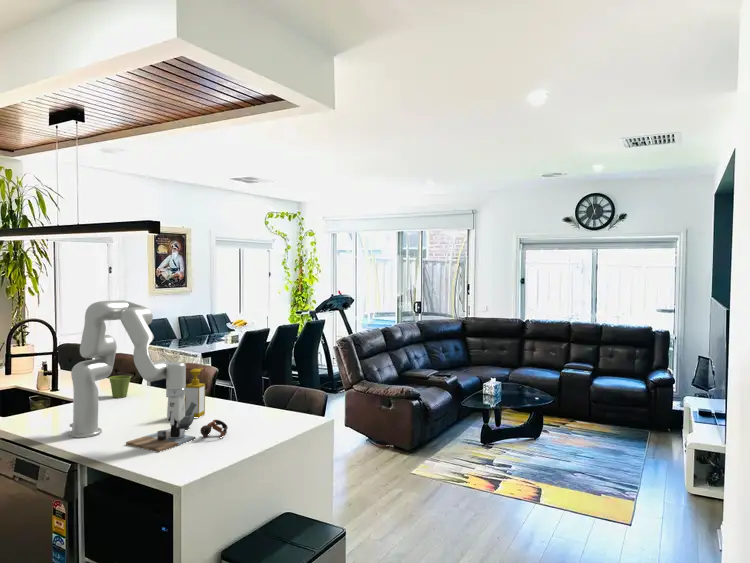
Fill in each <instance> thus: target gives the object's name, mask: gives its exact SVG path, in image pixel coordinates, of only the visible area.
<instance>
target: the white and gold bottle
mask: <svg viewBox="0 0 750 563" xmlns="http://www.w3.org/2000/svg"><path fill="white" fill-rule="evenodd" d="M202 370H203V368H193V369H191V370H189V373H191V375H192V376H193V379H191V382H190V383H188V384H186V394H185V396H184V398H185V412H186V411H187V410H188V408H189V406H190V405H191V402H195V403H196V404H197V405H196V406H195V408H194V410H193V412H192V413H194V417H198V418H197V419H200V418H201V417H200V416H202V415H203V416H205V415H204V414H206V383H201V382H200V379H199V378H198V376H199V375H200V372H202ZM203 416H202V417H203ZM199 417H200V418H199Z"/></svg>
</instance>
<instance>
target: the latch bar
mask: <svg viewBox="0 0 750 563" xmlns="http://www.w3.org/2000/svg"><path fill="white" fill-rule="evenodd" d="M156 433H157V439H158V440H163V439H170V438H181V437H185V435H186V431H185V429H180V436H179V437H171V429H168V430H164V429H163V430H162V429H161V430H157V432H156Z"/></svg>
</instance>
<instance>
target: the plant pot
mask: <svg viewBox="0 0 750 563" xmlns="http://www.w3.org/2000/svg"><path fill="white" fill-rule="evenodd" d="M131 378H132V376H131V375H113V376H110V377H109V376H108V380H109V383H110V388H111V394H112V398H114V399H115V398H116V399H123V398H125V397H127V396H128V391H129V386H130V382H131Z"/></svg>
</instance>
